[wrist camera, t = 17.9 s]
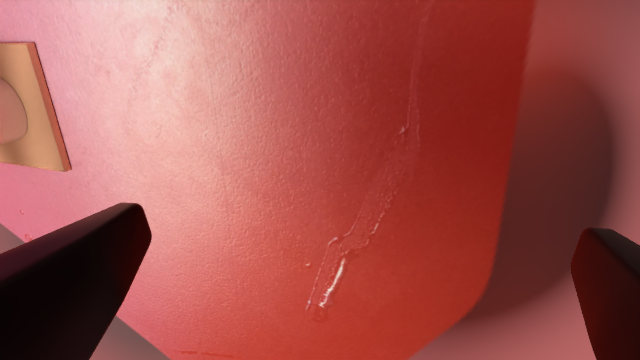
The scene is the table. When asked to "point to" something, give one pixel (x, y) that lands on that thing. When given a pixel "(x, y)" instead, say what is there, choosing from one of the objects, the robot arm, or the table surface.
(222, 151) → the table surface
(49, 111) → the pale mat
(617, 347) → the robot arm
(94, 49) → the table surface
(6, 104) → the salt shaker
